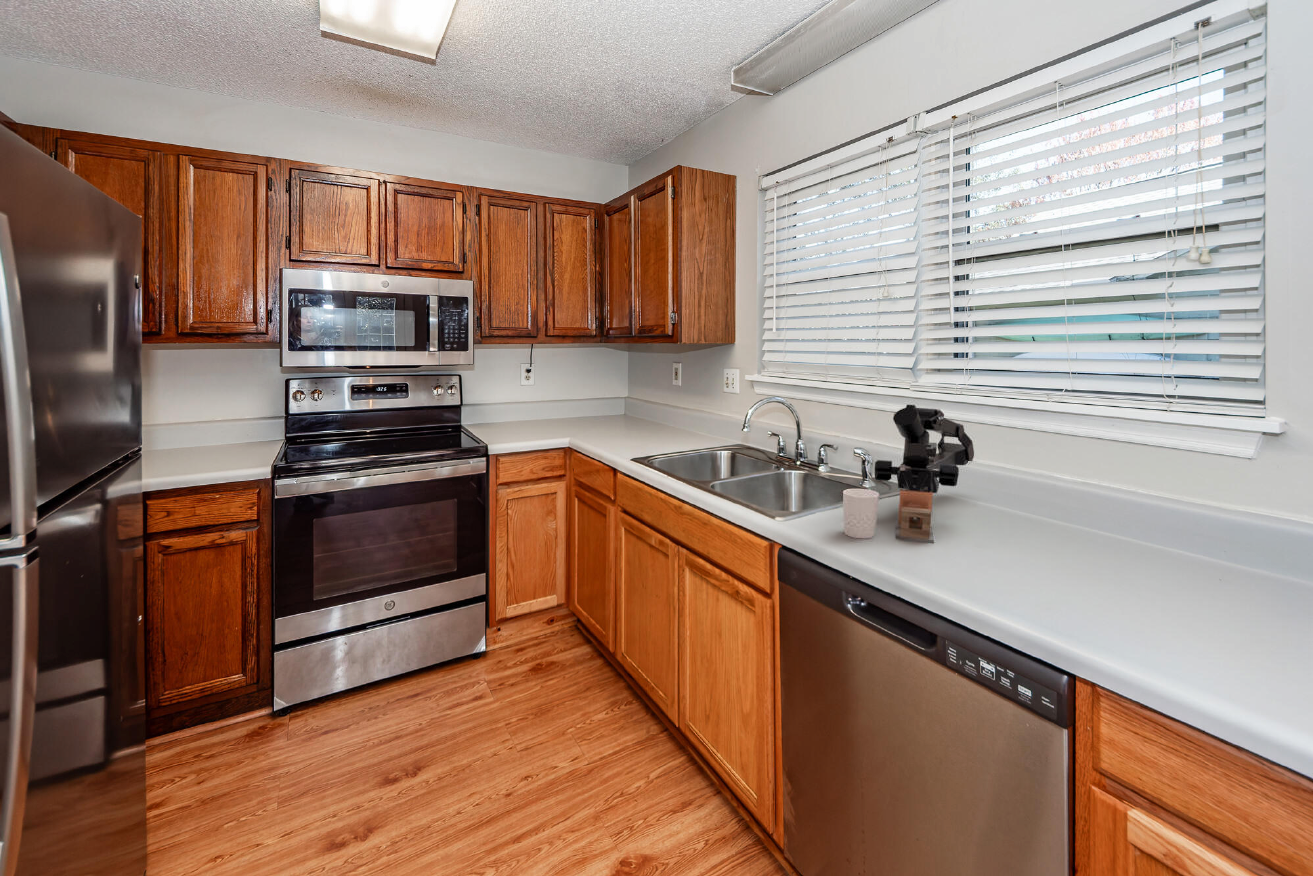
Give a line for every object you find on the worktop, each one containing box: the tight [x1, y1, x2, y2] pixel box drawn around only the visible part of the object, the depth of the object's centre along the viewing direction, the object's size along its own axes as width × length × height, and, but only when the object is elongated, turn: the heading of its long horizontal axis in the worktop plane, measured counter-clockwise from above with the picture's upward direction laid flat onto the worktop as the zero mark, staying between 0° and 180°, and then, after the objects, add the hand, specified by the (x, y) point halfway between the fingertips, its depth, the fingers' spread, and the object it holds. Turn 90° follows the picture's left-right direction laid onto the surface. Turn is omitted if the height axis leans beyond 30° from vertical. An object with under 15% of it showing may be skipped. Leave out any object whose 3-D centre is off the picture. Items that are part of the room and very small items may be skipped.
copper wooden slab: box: [897, 488, 934, 526], centre depth 136 cm, size 5×7×9 cm
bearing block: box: [895, 507, 935, 544], centre depth 135 cm, size 10×8×7 cm
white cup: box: [842, 488, 880, 539], centre depth 135 cm, size 8×8×10 cm
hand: (913, 502), depth 139 cm, fingers closed
